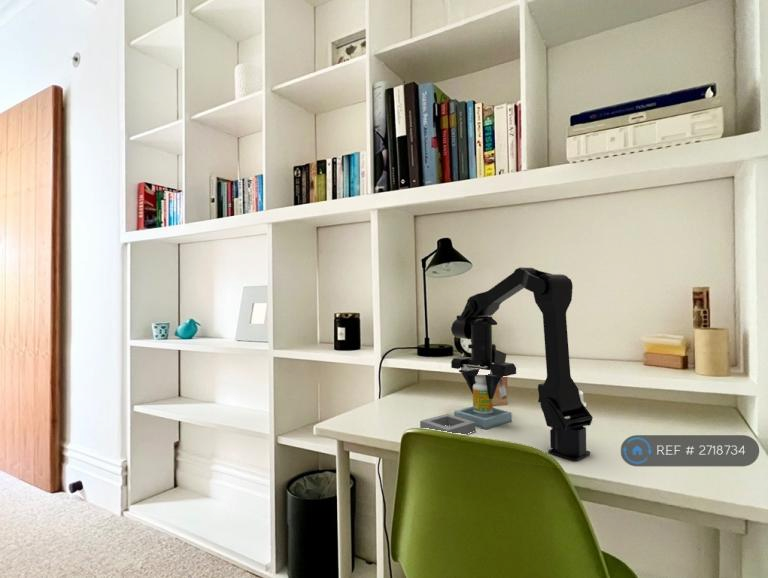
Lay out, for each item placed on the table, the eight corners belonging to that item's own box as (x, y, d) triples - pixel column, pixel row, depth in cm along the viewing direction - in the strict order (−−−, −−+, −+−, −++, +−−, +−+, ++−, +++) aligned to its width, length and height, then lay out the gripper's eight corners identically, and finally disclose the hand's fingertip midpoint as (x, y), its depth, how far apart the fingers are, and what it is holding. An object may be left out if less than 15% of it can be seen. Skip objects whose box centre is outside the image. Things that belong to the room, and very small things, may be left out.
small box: (485, 406, 134) (485, 373, 134) (477, 402, 139) (476, 370, 139) (508, 404, 136) (507, 371, 136) (499, 400, 141) (498, 368, 142)
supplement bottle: (478, 414, 116) (477, 378, 116) (470, 409, 121) (469, 375, 122) (496, 413, 117) (495, 377, 117) (487, 408, 122) (487, 374, 123)
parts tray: (511, 421, 118) (511, 412, 118) (485, 429, 112) (485, 419, 112) (480, 412, 127) (480, 404, 127) (454, 420, 120) (454, 411, 120)
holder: (475, 431, 110) (475, 422, 110) (448, 440, 104) (448, 430, 104) (447, 422, 118) (447, 413, 118) (420, 430, 112) (420, 420, 112)
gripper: (527, 341, 117) (529, 398, 117) (474, 336, 132) (475, 387, 132) (502, 344, 110) (503, 405, 110) (449, 339, 125) (450, 392, 125)
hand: (482, 396), depth 119 cm, fingers closed on supplement bottle, 5 cm apart
